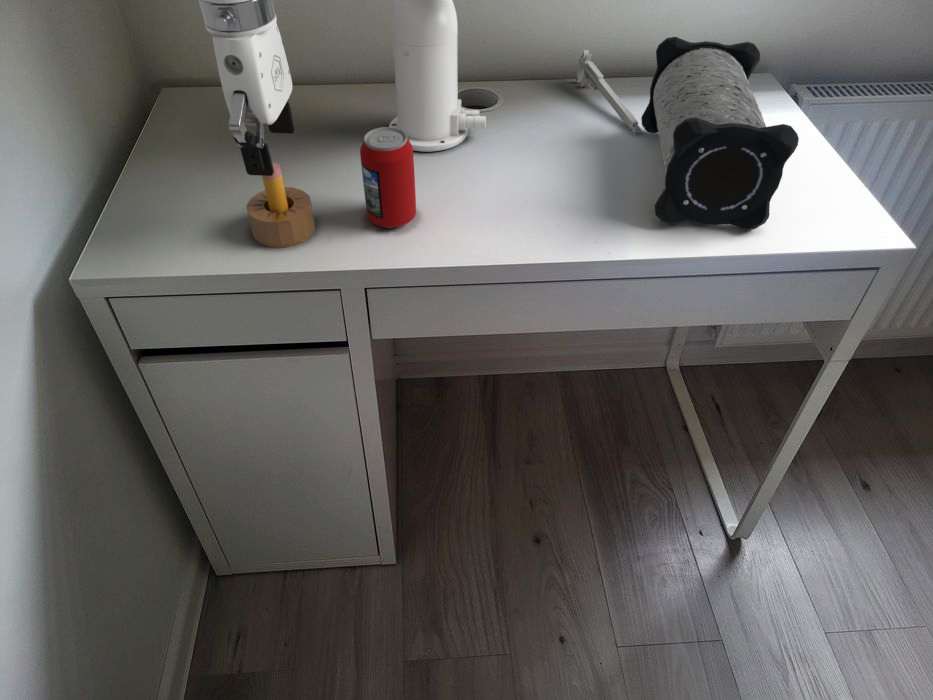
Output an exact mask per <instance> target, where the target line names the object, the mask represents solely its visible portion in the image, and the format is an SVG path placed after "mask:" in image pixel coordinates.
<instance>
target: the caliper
mask: <svg viewBox="0 0 933 700" xmlns="http://www.w3.org/2000/svg"><path fill="white" fill-rule="evenodd" d="M592 56H593V54H592V53H590V50H589V49H585V50H583V51H582V54H580V55H579V59H578V61H577V65H576V66H577V67H576V73H575V74H576V75H575V81H576V83H580V88H584V87H585V88H586V87H587V86H588V84H590V86H591V87H592V88H593V91H599V92H600V93H601V95H602V96H603V97H604V98H605V100H606V101H607V102H608V104H609V105H610V106H611V107H612V109H613V110H614V111H615V112H616V113H617V115H618V116H619V119H621V120H622V122H623V123H624V124H625V125H626V127H627V128H628V129H629V131H633V132H634V133H635V134H637V133H641V132H642V128H641V127H640V125H639V121H638V120H637V119H636V118H635V115H633V113H632V112H631V111H630V110H629V109H628V107H627V106H626V104H624V102H623V101H622V100H621V99H620V97H618V95H617V93H615V92H614V90H613V89H612V88H611V86H610V85H609V84H608V83H607V81H606V80H605V79H604V77H605V76H604V75H603V73H602V72H601V70H599V68H598V67H597V65H596V64H595V63H594V62H593V61H591V59H592Z"/></svg>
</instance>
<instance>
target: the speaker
mask: <svg viewBox="0 0 933 700" xmlns="http://www.w3.org/2000/svg"><path fill="white" fill-rule="evenodd" d="M655 57H656V71H655V73H654V75H653V77H652V81H651V84H650V88H649V102H648V104H647V105H646V108H645V109H644V111H643V113H642V115H641V126H642V127H643V128H644V130H645V132H648V133H651V134H658V138H659V142H660V147H661V155H662V159H663V163H664V169H665V171H664V173H665V177H664V189H663V190H662V192H661V194H660V195H659V197H658V198H657V200H656V201H655V203H654V215H655V216H656V217H657V218H658V219H659V220H660V221H661V222H662V223H666V224H670V225H676V224H680V223H684V222H693V223H696V224H697V223H698V224H701V225H711V226H712V225H713V226H718V225H731V226H732V227H736V228H738V229H741V230H743V231H748V230H749V231H750V230H756V229H758V228H760V227H761V226H762V225H764V224H766V223H767V221H768V220H769V219H770V207H771V206H770V205H771V200H772V198H773V196H774V194H775V193H776V191H777V190H778V188H779V186H780V183H781V180H782V178H783V172H784V167H785V165H786V163H787V162H788V160H789V159H790V158H791V156H792V155H793V154H794V153H795V151H796V150H797V148H798V146H799V140H800V138H799V135H798V132H796V130H795V129H794V128H793V126H791V125H789V124H784V123H782V124H776V125H770V126H769V125H768V126H767V125H766V122H765V120H764V117H763V115H762V113H763V112H762V111H761V109H760V107H759V103H757V100H756V98H755V97H756V96H754V91H753V90H752V87H751V85H750V81H749V79H750V77H751V75H752V74H753V72H754V70H755V68H756V67H757V66H758V64H759V62H760V60H761V51H760V50H759V48H758V46H756V44H755V43H753V42H750V41H744V42H739V43H734V44H724V43H720V42H714V41H707V40H705V41H699V42H697V41H696V42H693V41H692V42H690V41H688V40H686V39H682V38H680V37H678V36H671V37H666V38H665V39H664V40H662V41H661V42H660V43H659V44H658V45H657V48H656V50H655Z"/></svg>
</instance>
